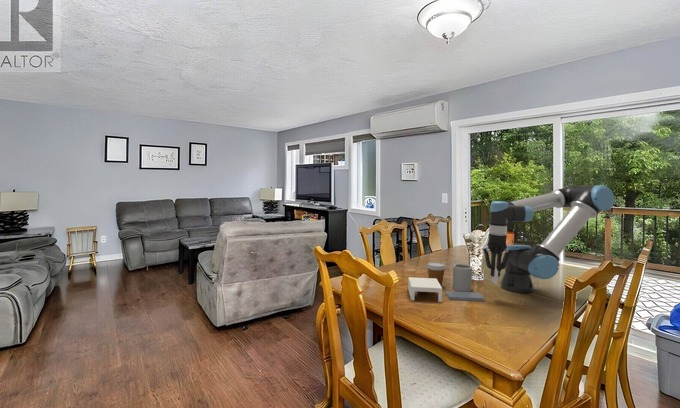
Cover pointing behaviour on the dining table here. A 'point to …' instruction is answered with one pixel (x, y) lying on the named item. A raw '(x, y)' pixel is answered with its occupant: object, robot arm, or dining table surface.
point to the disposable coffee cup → (436, 271)
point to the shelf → (424, 286)
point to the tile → (464, 296)
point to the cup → (462, 277)
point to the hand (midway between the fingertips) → (494, 283)
